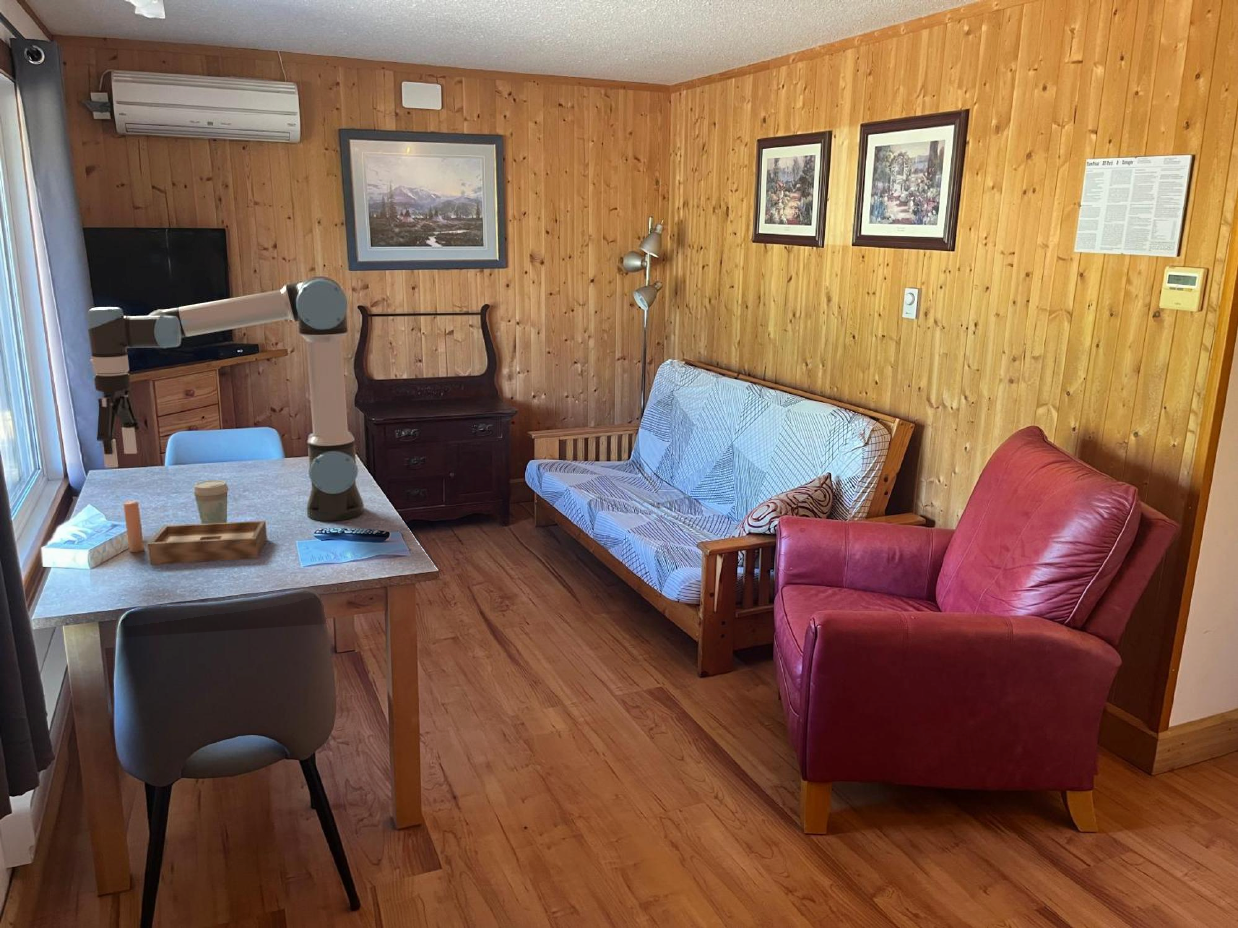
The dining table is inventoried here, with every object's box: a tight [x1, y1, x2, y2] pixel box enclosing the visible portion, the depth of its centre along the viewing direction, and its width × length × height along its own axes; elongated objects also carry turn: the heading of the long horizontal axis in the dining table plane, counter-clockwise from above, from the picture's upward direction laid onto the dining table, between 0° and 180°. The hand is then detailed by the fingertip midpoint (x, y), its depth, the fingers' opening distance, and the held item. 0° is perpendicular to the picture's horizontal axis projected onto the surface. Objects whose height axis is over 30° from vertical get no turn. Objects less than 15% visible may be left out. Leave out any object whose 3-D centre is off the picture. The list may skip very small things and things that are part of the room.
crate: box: [147, 520, 268, 565], centre depth 232 cm, size 24×14×5 cm, turn 101°
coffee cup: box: [192, 479, 229, 524], centre depth 249 cm, size 8×8×12 cm
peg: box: [123, 500, 145, 553], centre depth 232 cm, size 3×3×12 cm
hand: (121, 460), depth 231 cm, fingers open, 13 cm apart
